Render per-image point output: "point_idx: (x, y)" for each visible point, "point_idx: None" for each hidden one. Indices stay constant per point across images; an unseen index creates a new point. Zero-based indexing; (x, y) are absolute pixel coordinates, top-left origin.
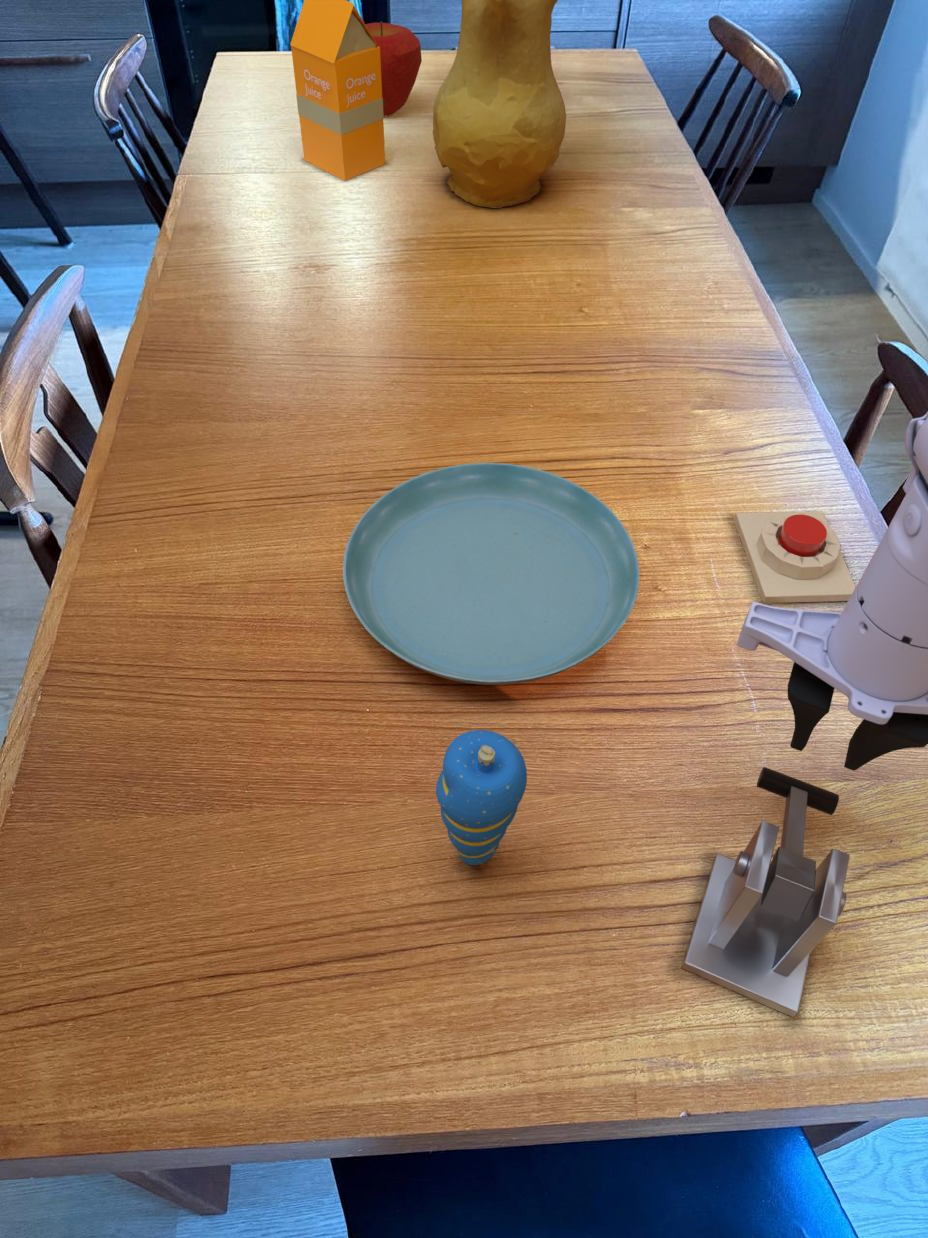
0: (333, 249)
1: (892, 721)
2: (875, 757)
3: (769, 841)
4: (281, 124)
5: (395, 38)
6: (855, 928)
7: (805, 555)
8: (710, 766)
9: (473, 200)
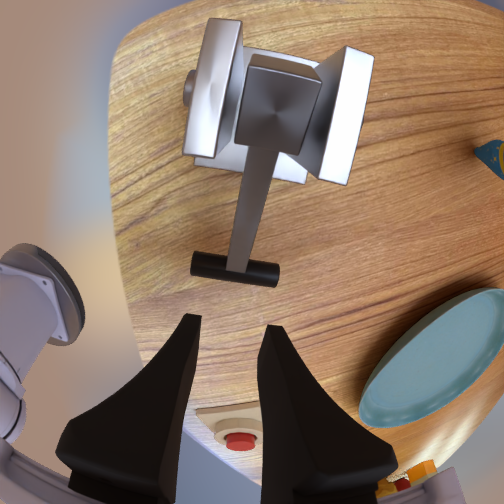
0: (437, 445)
1: (153, 487)
2: (161, 352)
3: (336, 144)
4: (434, 462)
5: None
6: (159, 147)
7: (236, 432)
8: (304, 276)
9: None
